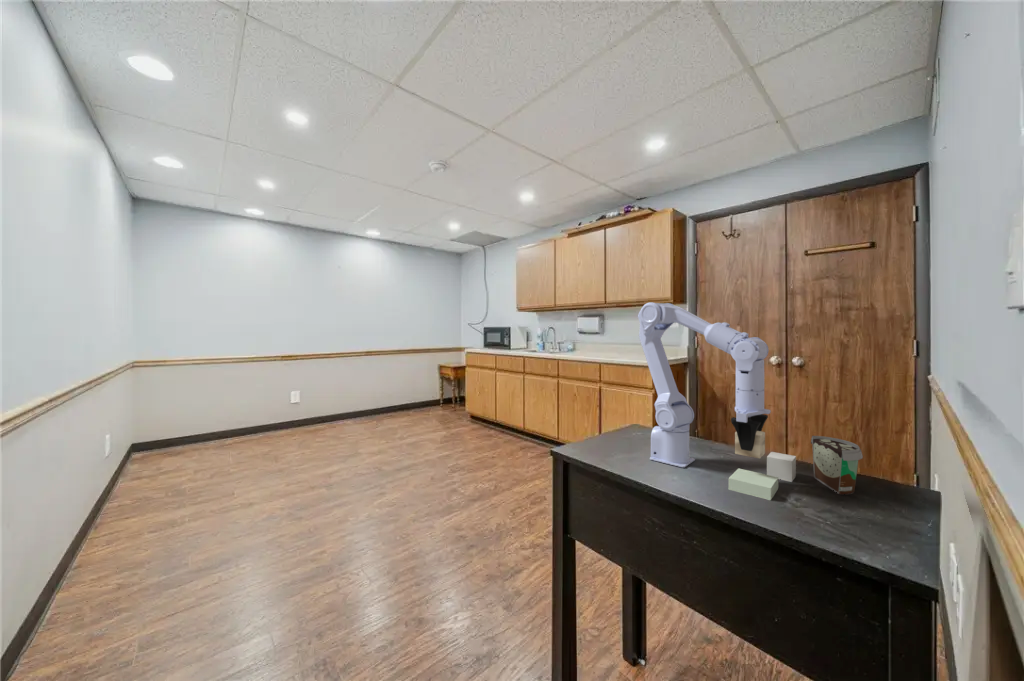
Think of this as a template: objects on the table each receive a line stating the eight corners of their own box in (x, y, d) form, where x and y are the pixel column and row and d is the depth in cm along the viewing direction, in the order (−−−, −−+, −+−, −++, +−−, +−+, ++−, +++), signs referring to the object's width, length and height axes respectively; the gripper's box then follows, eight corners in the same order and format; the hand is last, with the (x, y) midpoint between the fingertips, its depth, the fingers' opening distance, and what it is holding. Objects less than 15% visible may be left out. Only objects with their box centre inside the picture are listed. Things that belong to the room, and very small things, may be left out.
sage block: (728, 491, 86) (728, 478, 85) (738, 480, 91) (738, 468, 91) (770, 502, 80) (770, 488, 80) (778, 490, 86) (778, 477, 85)
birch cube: (735, 453, 89) (735, 432, 88) (740, 448, 92) (740, 428, 92) (760, 458, 85) (760, 436, 85) (764, 453, 89) (765, 432, 89)
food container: (877, 499, 80) (878, 452, 79) (843, 497, 81) (844, 451, 80) (839, 476, 92) (839, 436, 91) (810, 475, 93) (810, 434, 93)
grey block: (766, 476, 93) (766, 456, 92) (771, 471, 96) (771, 451, 96) (791, 482, 89) (792, 461, 89) (795, 476, 93) (795, 456, 92)
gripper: (762, 395, 80) (762, 458, 81) (776, 387, 91) (776, 443, 91) (725, 392, 85) (726, 451, 86) (743, 384, 96) (743, 438, 96)
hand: (749, 447), depth 89 cm, fingers closed on birch cube, 5 cm apart
